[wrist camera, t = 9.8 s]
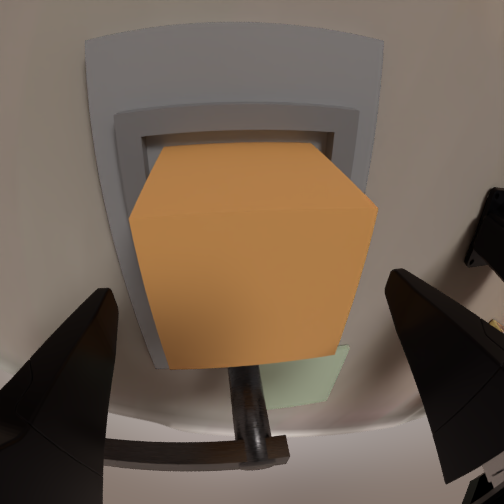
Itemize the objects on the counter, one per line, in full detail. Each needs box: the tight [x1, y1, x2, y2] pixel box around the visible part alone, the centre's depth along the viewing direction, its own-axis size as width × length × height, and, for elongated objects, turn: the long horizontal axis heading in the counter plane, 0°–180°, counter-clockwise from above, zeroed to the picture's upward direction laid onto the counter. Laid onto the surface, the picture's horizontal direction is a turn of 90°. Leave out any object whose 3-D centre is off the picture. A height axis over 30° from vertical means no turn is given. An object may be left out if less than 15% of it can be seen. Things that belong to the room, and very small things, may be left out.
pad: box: [259, 345, 350, 410], centre depth 24 cm, size 9×9×1 cm
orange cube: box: [129, 142, 378, 370], centre depth 11 cm, size 6×6×6 cm
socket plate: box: [85, 22, 384, 369], centre depth 15 cm, size 12×20×2 cm, turn 179°
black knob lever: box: [104, 365, 290, 471], centre depth 14 cm, size 19×2×8 cm, turn 89°
